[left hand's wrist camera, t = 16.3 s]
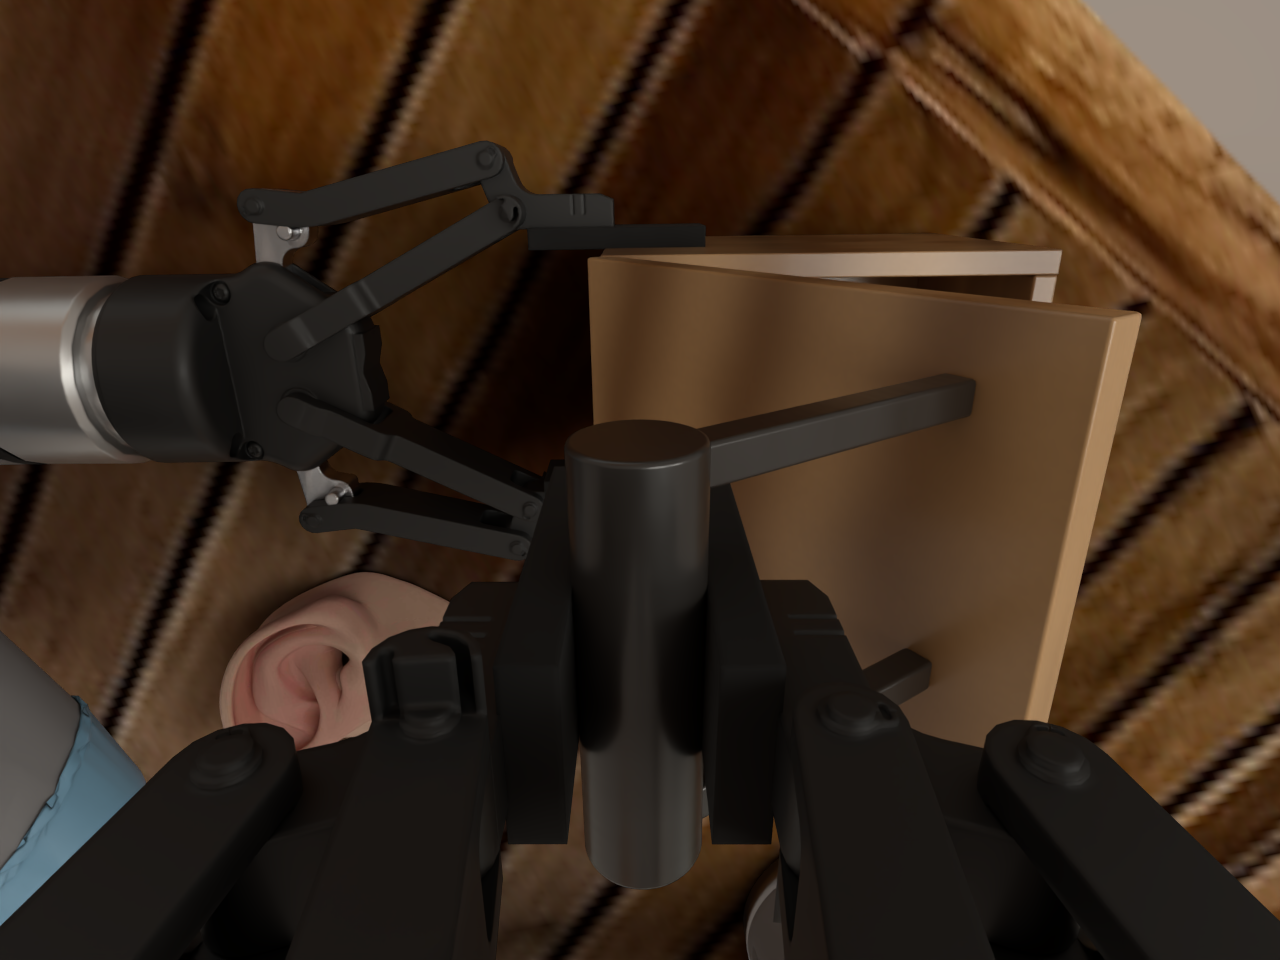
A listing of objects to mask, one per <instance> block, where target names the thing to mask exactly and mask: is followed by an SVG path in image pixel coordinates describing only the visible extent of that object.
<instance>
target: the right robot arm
mask: <svg viewBox="0 0 1280 960" xmlns="http://www.w3.org/2000/svg"><path fill="white" fill-rule="evenodd" d="M477 185H482V187H483V190H484V192H485V194H486V197H487V199H488V201H489V203H488V204H487V205H485V206H483V207H482V208H480V209H478V210H477V211H475V212H473V213H472V214H470V215H468V216H467V217H465V218H463V219H462V220H460V221H458V222H457V223H455V224H453V225H452V226H450V227H448V228H447V229H445V230H443V231H441V232H440V233H438V234H436V235H435V236H433V237H431V238H430V239H428V240H426V241H425V242H423V243H421V244H420V245H418V246H416V247H415V248H413V249H411V250H410V251H408V252H406V253H405V254H403V255H401V256H400V257H398V258H396V259H395V260H393V261H391V262H389V263H388V264H386V265H384V266H383V267H381V268H379V269H378V270H376V271H374V272H373V273H371V274H369V275H368V276H366V277H364V278H363V279H361V280H359V281H357V282H355V283H353V284H351V285H349V286H347V287H345V288H344V289H342V290H340V291H339V292H337V291H335V290H334V289H332V288H331V287H329V286H328V285H326V284H325V283H323V282H322V281H320V280H318V279H317V278H315V277H314V276H312V275H311V274H309V273H308V272H306V271H305V270H303V269H302V268H300V267H299V266H297V265H295V264H294V263H293V256H294V253H295V252H296V251H297V250H298V249H299V248H301V247H306V246H310V245H312V244H314V243H315V241H316V240H317V238H318V226H324V225H334V224H341V223H346V222H350V221H354V220H357V219H361V218H364V217H368V216H371V215H375V214H379V213H382V212H386V211H389V210H393V209H396V208H400V207H403V206H407V205H410V204H414V203H417V202H421V201H424V200H428V199H432V198H435V197H439V196H442V195H446V194H449V193H453V192H456V191H460V190H463V189H467V188H470V187H474V186H477ZM237 207H238V210H239V212H240V214H241V215H242V217H243V218H244V219H246V220H247V221H249V222H251V223H253V230H254V241H255V252H256V263H254V264H252V265H250V266H249V267H248V268H246V269H245V270H243V271H241V272H239V273H237V274H188V275H140V276H136V277H132V278H130V279H128V278H124V277H121V276H118V275H115V276H58V277H12V278H0V465H13V464H110V463H145V462H148V461H150V460H153V461H157V462H164V463H177V462H241V461H257V460H266V461H271V462H275V463H278V464H280V465H282V466H285V467H287V468H289V469H291V470H295V471H297V473H298V476H299V480H300V483H301V486H302V489H303V492H304V496H305V499H306V502H307V507H306V508H305V509H304V510H302V511H301V513H300V515H299V521H300V523H301V525H302V527H303V528H304V529H306V530H307V531H309V532H312V533H321V532H329V531H338V530H346V529H355V528H356V529H361V530H366V531H371V532H376V533H381V534H386V535H391V536H396V537H401V538H406V539H411V540H416V541H421V542H426V543H431V544H436V545H441V546H446V547H451V548H456V549H461V550H466V551H471V552H476V553H481V554H486V555H491V556H497V557H502V558H507V559H512V560H523V559H526V556H527V553H528V550H529V547H530V543H531V540H532V537H533V534H534V530H535V527H536V524H537V521H538V517H539V514H540V511H541V508H542V504H543V501H544V498H545V495H546V491H547V488H548V485H549V482H550V478H551V475H552V472H553V469H554V466H565V460H551V461H550V464H549V467H548V470H547V473H546V472H545V471H544V473H543V476H542V477H541V476H539V475H537V474H535V473H532V472H530V471H528V470H526V469H524V468H521V467H519V466H517V465H515V464H513V463H510V462H508V461H506V460H504V459H502V458H499V457H497V456H495V455H493V454H491V453H488V452H486V451H484V450H482V449H480V448H477V447H475V446H473V445H471V444H469V443H466V442H464V441H462V440H460V439H458V438H455V437H453V436H451V435H449V434H447V433H444V432H442V431H440V430H438V429H436V428H434V427H431V426H429V425H427V424H425V423H423V422H420V421H418V420H416V419H414V418H413V417H412V415H411V414H410V413H409V412H408V411H406V410H404V409H402V408H400V407H398V406H395V405H393V404H391V403H389V402H387V400H388V399H389V391H388V384H387V379H386V377H385V375H384V372H383V370H382V367H381V365H380V354H381V346H382V342H381V335H380V327H379V325H374V323H373V321H372V320H371V318H370V317H371V316H373V315H375V314H376V313H378V312H380V311H381V310H383V309H385V308H387V307H388V306H390V305H392V304H393V303H395V302H396V301H398V300H399V299H401V298H403V297H405V296H406V295H408V294H410V293H411V292H413V291H415V290H416V289H418V288H420V287H422V286H423V285H425V284H427V283H428V282H430V281H432V280H434V279H435V278H437V277H439V276H440V275H442V274H444V273H446V272H447V271H449V270H451V269H452V268H454V267H456V266H458V265H459V264H461V263H463V262H464V261H466V260H468V259H470V258H471V257H473V256H475V255H476V254H478V253H480V252H481V251H483V250H485V249H487V248H488V247H490V246H492V245H493V244H495V243H497V242H499V241H500V240H502V239H504V238H505V237H507V236H509V235H511V234H512V233H514V232H516V231H517V230H519V229H527V232H528V248H529V250H576V249H606V248H670V247H705V234H706V226H704V225H702V224H700V223H696V224H628V225H614V199H613V198H610V197H608V196H605V195H603V194H534V193H532V192H530V191H528V190H527V189H526V188H525V187H524V186H523V185H522V183H521V181H520V179H519V177H518V174H517V172H516V169H515V167H514V164H513V158H512V156H511V154H510V152H509V151H508V150H507V149H506V148H505V147H502V146H500V145H498V144H495V143H493V142H489V141H479V142H476V143H472V144H469V145H465V146H462V147H458V148H455V149H451V150H448V151H444V152H441V153H437V154H434V155H431V156H427V157H424V158H420V159H417V160H413V161H410V162H406V163H403V164H399V165H396V166H392V167H389V168H385V169H382V170H378V171H375V172H372V173H368V174H365V175H361V176H358V177H354V178H351V179H347V180H344V181H340V182H337V183H333V184H330V185H326V186H323V187H320V188H316V189H313V190H309V191H296V190H287V189H255V188H252V189H245V190H244V191H242V192H241V193H240V195H239V196H238V199H237ZM343 447H345V448H347V449H349V450H351V451H354V452H356V453H358V454H361V455H363V456H365V457H367V458H370V459H373V460H378V461H379V460H386V461H390V462H392V463H394V464H397V465H399V466H401V467H403V468H406V469H408V470H410V471H412V472H415V473H417V474H419V475H421V476H424V477H426V478H428V479H430V480H433V481H435V482H437V483H440V484H442V485H444V486H446V487H449V488H451V489H453V490H455V491H458V492H460V493H462V494H464V495H467V496H469V497H471V498H473V499H476V500H478V501H480V502H483V503H485V504H481V503H476V502H471V501H466V500H461V499H456V498H452V497H447V496H442V495H437V494H432V493H427V492H422V491H417V490H413V489H408V488H403V487H398V486H393V485H388V484H382V483H369V482H366V483H359V482H358V478H357V476H356V475H354V474H348V473H342V472H338V471H336V470H334V469H333V468H332V467H331V466H330V465H329V463H328V461H327V460H328V459H329V458H330V457H331V456H333V455H334V454H335V453H336V452H338V451H339V450H340V449H341V448H343ZM486 504H487V505H486ZM145 784H146V781H145V779H144V777H143V775H142V773H141V771H140V769H139V768H138V767H137V766H136V765H135V764H134V762H133V761H132V760H131V759H130V758H129V756H128V755H127V754H126V753H125V752H124V751H123V749H122V748H121V747H120V746H119V745H118V743H117V742H116V741H115V740H114V739H113V738H112V736H111V735H110V734H109V733H108V732H107V730H106V729H105V728H104V727H103V726H102V725H101V723H100V722H99V721H98V720H97V719H96V717H95V716H94V715H93V714H92V713H91V712H90V709H89V707H88V704H86V703H85V702H84V701H83V700H82V699H81V698H80V697H79V696H70V695H69V694H68V693H67V692H66V691H65V690H64V689H63V688H62V687H60V686H59V685H58V684H57V683H56V682H55V681H54V680H53V679H52V678H51V677H50V676H49V675H48V674H46V673H45V672H44V671H43V670H42V669H41V668H40V667H39V666H38V665H37V664H36V663H35V662H34V661H32V660H31V659H30V658H29V657H28V656H27V655H26V654H25V653H24V652H23V651H22V650H21V649H20V648H18V647H17V646H16V645H15V644H14V643H13V642H12V641H11V640H10V639H9V638H8V637H7V636H6V635H4V634H3V633H2V632H1V631H0V926H1V925H2V924H3V923H4V922H5V921H6V920H7V919H8V918H9V917H10V916H11V915H12V914H13V913H14V912H15V911H16V910H17V909H18V908H19V907H20V906H21V905H22V904H23V903H24V902H25V901H26V900H27V899H28V898H29V897H30V896H31V895H32V894H33V893H34V892H35V891H36V890H38V889H39V888H40V887H41V886H42V885H43V884H44V883H45V882H46V881H47V880H48V879H49V878H50V877H51V876H52V875H53V874H54V873H55V872H56V871H57V870H58V869H59V868H60V867H61V866H62V865H63V864H64V863H65V862H66V861H67V860H68V859H69V858H70V857H71V856H72V855H73V854H74V853H75V852H76V851H77V850H78V849H80V848H81V847H82V846H83V845H84V844H85V843H86V842H87V841H88V840H89V839H90V838H91V837H92V836H93V835H94V834H95V833H96V832H97V831H98V830H99V829H100V828H101V827H102V826H103V825H104V824H105V823H106V822H107V821H108V820H109V819H110V818H111V817H112V816H113V815H114V814H115V813H116V812H117V811H118V810H119V809H120V808H122V807H123V806H124V805H125V804H126V803H127V802H128V801H129V800H130V799H131V798H132V797H133V796H134V795H135V794H136V793H137V792H138V791H139V790H140V789H141V788H142V787H143V786H144V785H145Z"/></svg>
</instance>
